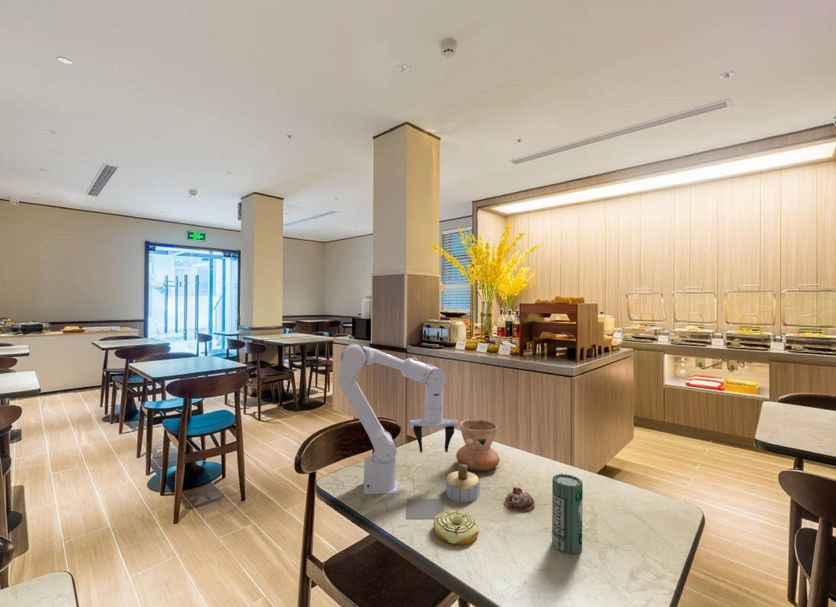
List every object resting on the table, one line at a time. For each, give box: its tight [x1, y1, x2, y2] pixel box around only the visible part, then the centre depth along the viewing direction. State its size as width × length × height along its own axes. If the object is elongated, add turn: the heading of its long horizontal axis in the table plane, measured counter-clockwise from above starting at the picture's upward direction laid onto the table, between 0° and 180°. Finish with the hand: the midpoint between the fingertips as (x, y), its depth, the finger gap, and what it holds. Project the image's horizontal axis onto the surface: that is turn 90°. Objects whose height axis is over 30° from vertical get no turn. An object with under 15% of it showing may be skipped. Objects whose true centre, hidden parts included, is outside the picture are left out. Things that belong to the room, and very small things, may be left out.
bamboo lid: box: [446, 463, 479, 489], centre depth 110 cm, size 9×9×4 cm
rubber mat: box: [405, 498, 445, 520], centre depth 102 cm, size 10×10×1 cm
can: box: [551, 473, 584, 556], centre depth 87 cm, size 6×6×15 cm
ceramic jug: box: [455, 418, 500, 472], centre depth 130 cm, size 18×14×14 cm
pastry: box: [504, 486, 536, 513], centre depth 105 cm, size 8×8×5 cm
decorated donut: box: [433, 509, 480, 546], centre depth 91 cm, size 10×11×4 cm
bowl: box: [445, 477, 480, 503], centre depth 110 cm, size 9×9×4 cm
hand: (433, 450), depth 117 cm, fingers open, 7 cm apart
